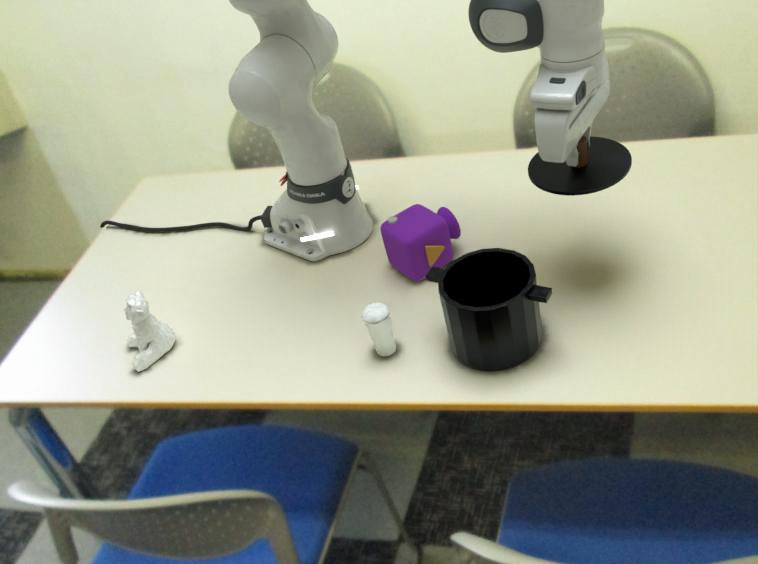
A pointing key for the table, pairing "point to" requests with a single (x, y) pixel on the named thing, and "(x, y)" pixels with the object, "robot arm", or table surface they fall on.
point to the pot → (491, 307)
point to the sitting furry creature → (146, 332)
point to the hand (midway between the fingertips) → (578, 156)
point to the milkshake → (380, 328)
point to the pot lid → (583, 169)
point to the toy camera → (419, 239)
